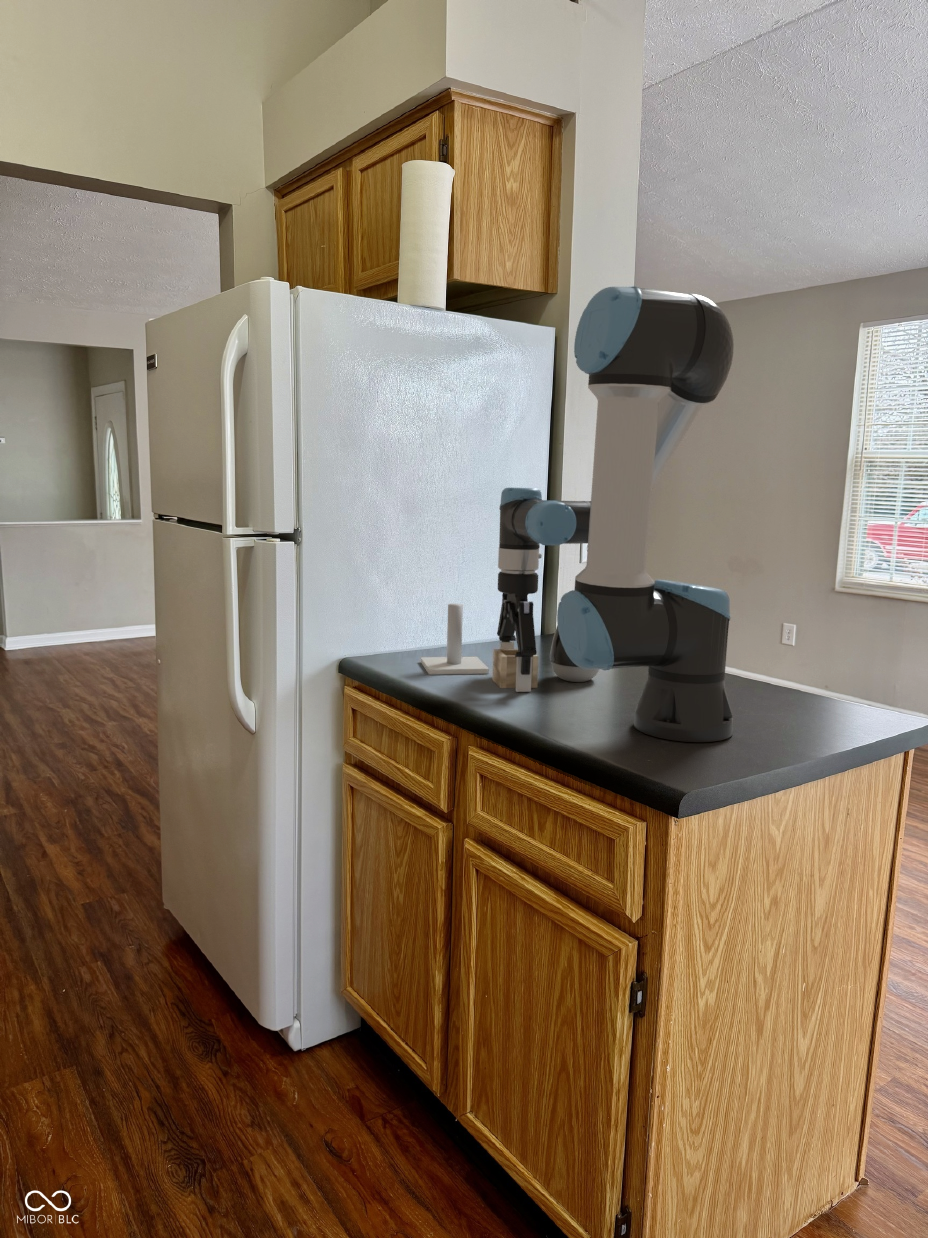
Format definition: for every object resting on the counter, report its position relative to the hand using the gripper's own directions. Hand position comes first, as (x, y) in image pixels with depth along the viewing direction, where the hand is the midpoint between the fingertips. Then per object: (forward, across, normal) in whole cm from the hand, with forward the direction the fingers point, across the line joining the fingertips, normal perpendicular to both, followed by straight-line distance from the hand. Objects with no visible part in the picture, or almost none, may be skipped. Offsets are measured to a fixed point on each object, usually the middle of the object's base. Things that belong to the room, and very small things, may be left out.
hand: (514, 682), depth 167 cm
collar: (0, 0, 0) cm, 0 cm away
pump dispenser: (0, +3, -13) cm, 13 cm away
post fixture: (0, +15, +9) cm, 17 cm away
